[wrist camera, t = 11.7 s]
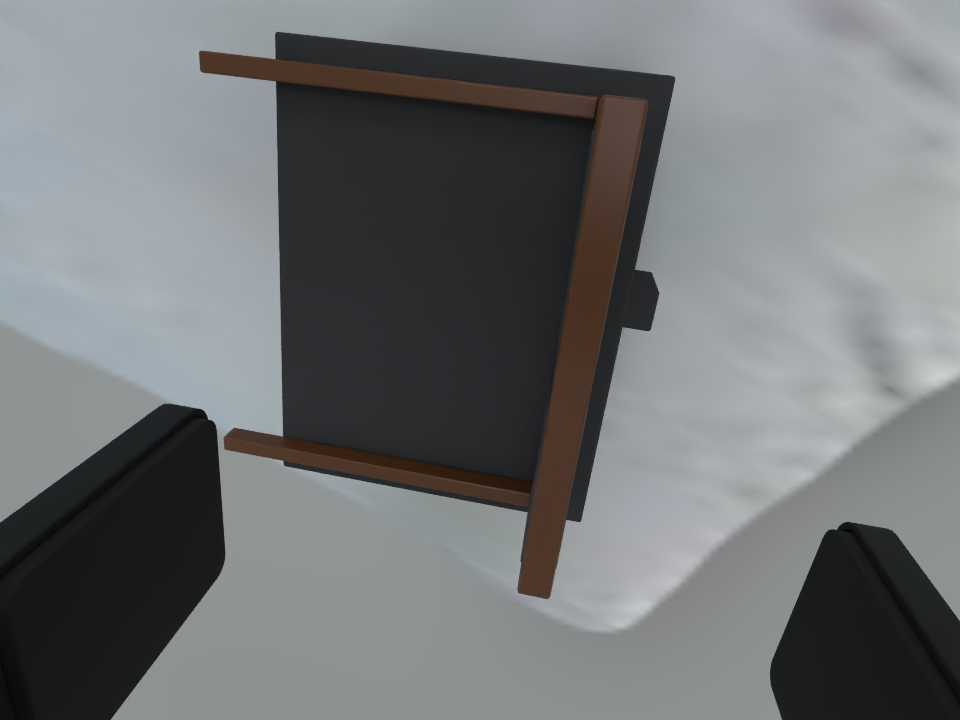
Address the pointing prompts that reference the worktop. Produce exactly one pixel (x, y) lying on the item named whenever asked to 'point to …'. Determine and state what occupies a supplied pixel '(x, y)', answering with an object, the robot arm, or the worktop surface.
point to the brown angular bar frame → (580, 313)
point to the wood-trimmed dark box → (442, 259)
